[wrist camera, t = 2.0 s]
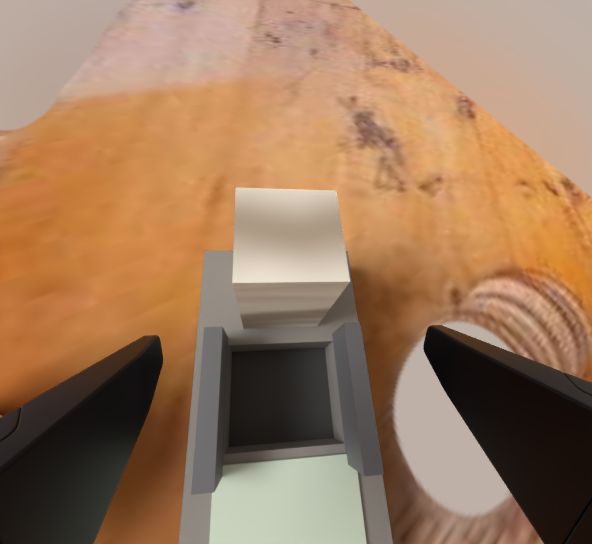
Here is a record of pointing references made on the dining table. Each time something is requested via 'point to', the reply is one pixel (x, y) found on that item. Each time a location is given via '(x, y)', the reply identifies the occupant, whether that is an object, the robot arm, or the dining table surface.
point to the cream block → (287, 256)
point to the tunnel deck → (280, 428)
